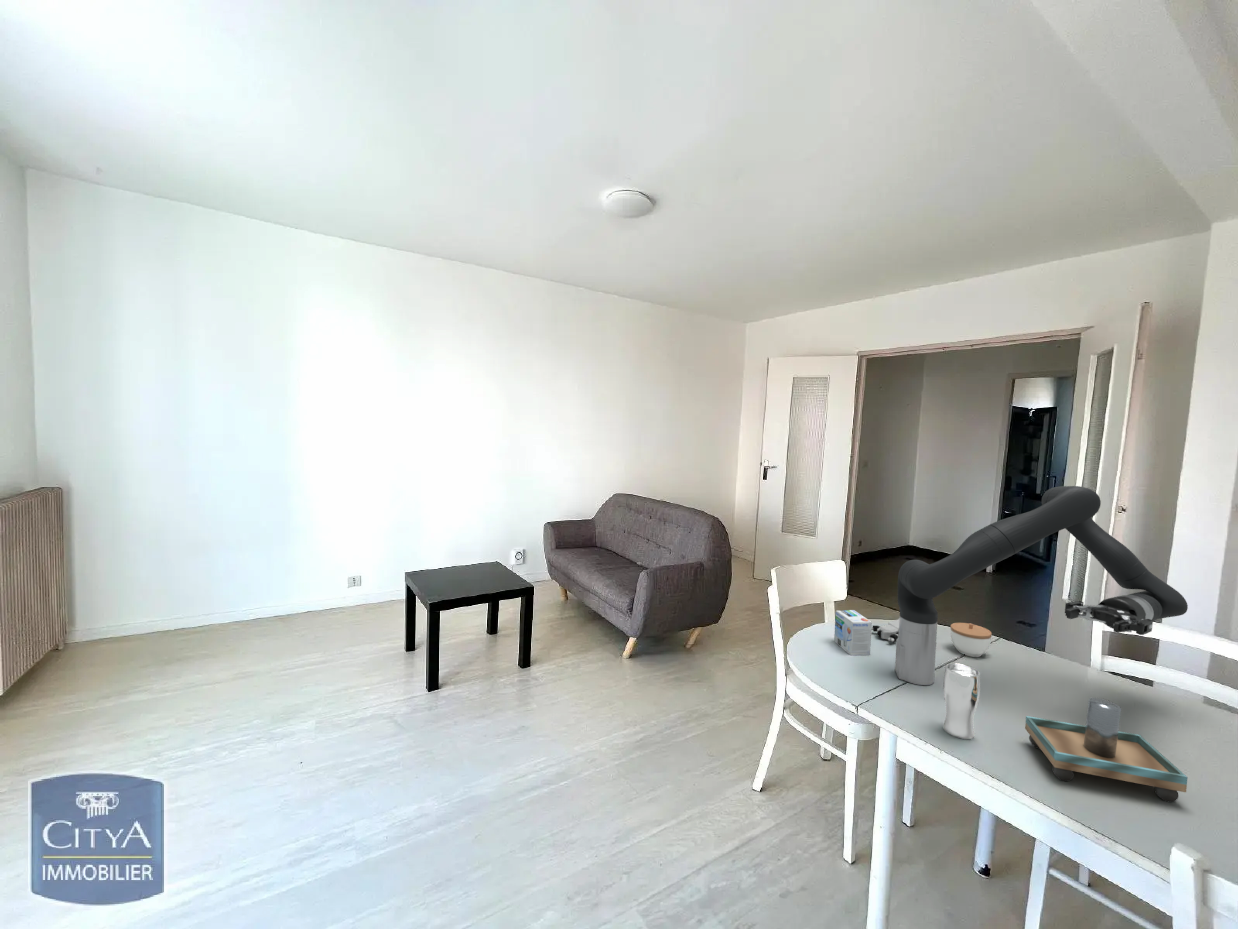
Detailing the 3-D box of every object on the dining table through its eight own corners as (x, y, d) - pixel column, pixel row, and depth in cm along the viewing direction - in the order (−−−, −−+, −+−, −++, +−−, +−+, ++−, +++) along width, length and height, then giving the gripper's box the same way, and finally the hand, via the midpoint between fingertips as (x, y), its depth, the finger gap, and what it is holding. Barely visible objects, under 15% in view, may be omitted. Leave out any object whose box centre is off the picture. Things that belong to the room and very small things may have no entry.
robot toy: (891, 650, 164) (930, 642, 167) (891, 636, 164) (930, 629, 167) (865, 635, 176) (901, 628, 179) (864, 622, 175) (901, 616, 179)
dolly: (1053, 781, 101) (1055, 753, 101) (1024, 741, 114) (1026, 716, 114) (1184, 807, 95) (1187, 777, 94) (1137, 761, 108) (1139, 734, 107)
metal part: (1090, 754, 103) (1095, 707, 102) (1079, 740, 107) (1084, 695, 107) (1120, 760, 101) (1126, 712, 100) (1107, 746, 106) (1113, 701, 105)
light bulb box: (833, 641, 168) (834, 609, 167) (852, 641, 168) (854, 609, 168) (850, 656, 157) (852, 622, 156) (871, 655, 158) (873, 621, 157)
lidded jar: (964, 643, 167) (965, 616, 167) (998, 657, 157) (1000, 628, 157) (941, 648, 164) (943, 620, 163) (975, 662, 154) (976, 632, 153)
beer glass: (977, 744, 113) (982, 679, 112) (941, 734, 117) (944, 671, 116) (975, 729, 119) (979, 667, 118) (940, 720, 123) (944, 660, 122)
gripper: (1089, 588, 129) (1055, 595, 122) (1168, 606, 116) (1135, 615, 109) (1086, 616, 129) (1052, 625, 122) (1164, 638, 116) (1131, 649, 109)
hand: (1091, 621), depth 116 cm, fingers open, 8 cm apart
